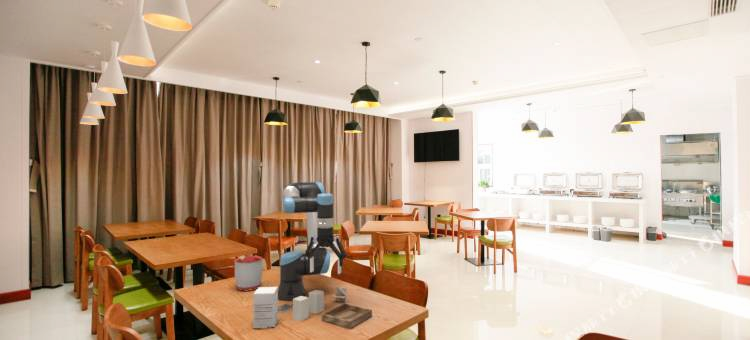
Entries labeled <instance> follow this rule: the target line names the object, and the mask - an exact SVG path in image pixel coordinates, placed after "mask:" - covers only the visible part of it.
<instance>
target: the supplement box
mask: <svg viewBox="0 0 750 340" xmlns="http://www.w3.org/2000/svg"><path fill="white" fill-rule="evenodd" d="M278 289H279V286H259V287H258V289H255V290H254V292H253V293H252V295H253V296H252V299H253V301H252V302H253V303H252V304H253V309H252V310H253V311H252V313H253V314H252V316H253V319H252V321H253V323H252V325H253V327H252V328H262V329H264V328H263V327H274V328H275V327H276V325H277V323H278V320H279V311H278V307H279V299H278Z"/></svg>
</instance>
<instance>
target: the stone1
mask: <svg viewBox="0 0 750 340" xmlns="http://www.w3.org/2000/svg"><path fill="white" fill-rule="evenodd" d="M292 306H293V309H292V319H293V320H295V321H299V322H302V321H304V320H307V319H309V318H310V312H309V296H308V297H307V296H305V297H304V296H299V297H296V298H294V299H293V300H292Z"/></svg>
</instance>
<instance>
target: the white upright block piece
mask: <svg viewBox="0 0 750 340" xmlns="http://www.w3.org/2000/svg"><path fill="white" fill-rule="evenodd" d="M324 295H325V293H324V290H319V289H314V290H312V291H310V292H308V298H309V313H312V314H316V315H317V314H319V313H321V312H324V311H325V299H324V297H325V296H324Z"/></svg>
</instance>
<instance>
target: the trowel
mask: <svg viewBox="0 0 750 340" xmlns="http://www.w3.org/2000/svg"><path fill="white" fill-rule="evenodd" d="M287 310H288V311H290V310H293V304H292V305H291V304H287V303H284V304H282V305H278V312H280V311H281V312H280V313H285V311H286V312H287Z"/></svg>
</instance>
